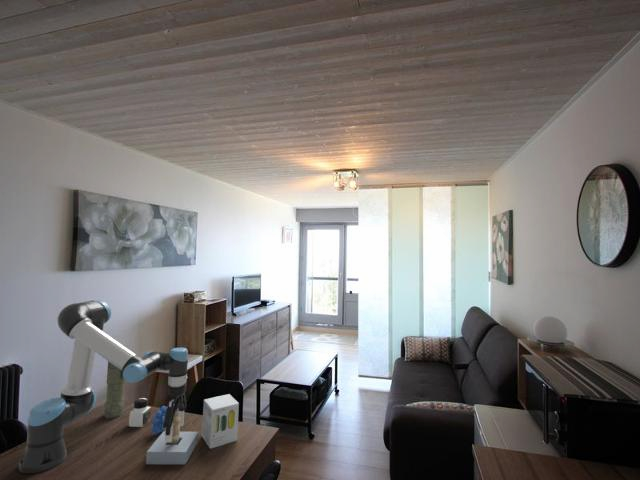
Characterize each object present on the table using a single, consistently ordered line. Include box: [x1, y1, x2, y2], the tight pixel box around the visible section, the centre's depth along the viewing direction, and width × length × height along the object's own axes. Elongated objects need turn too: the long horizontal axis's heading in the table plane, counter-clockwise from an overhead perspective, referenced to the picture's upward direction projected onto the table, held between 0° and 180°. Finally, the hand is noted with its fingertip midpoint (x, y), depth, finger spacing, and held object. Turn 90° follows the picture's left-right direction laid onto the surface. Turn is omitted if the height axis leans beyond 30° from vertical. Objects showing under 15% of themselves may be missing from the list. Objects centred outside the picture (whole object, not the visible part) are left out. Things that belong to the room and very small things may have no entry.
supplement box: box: [201, 393, 240, 450], centre depth 157 cm, size 13×13×18 cm
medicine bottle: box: [128, 397, 152, 428], centre depth 168 cm, size 7×7×12 cm
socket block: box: [145, 430, 199, 465], centre depth 144 cm, size 16×16×5 cm
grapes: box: [150, 405, 167, 436], centre depth 160 cm, size 12×7×12 cm, turn 169°
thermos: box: [103, 361, 126, 420], centre depth 176 cm, size 9×12×35 cm
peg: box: [169, 415, 181, 445], centre depth 144 cm, size 4×4×14 cm
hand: (174, 433), depth 144 cm, fingers open, 13 cm apart
